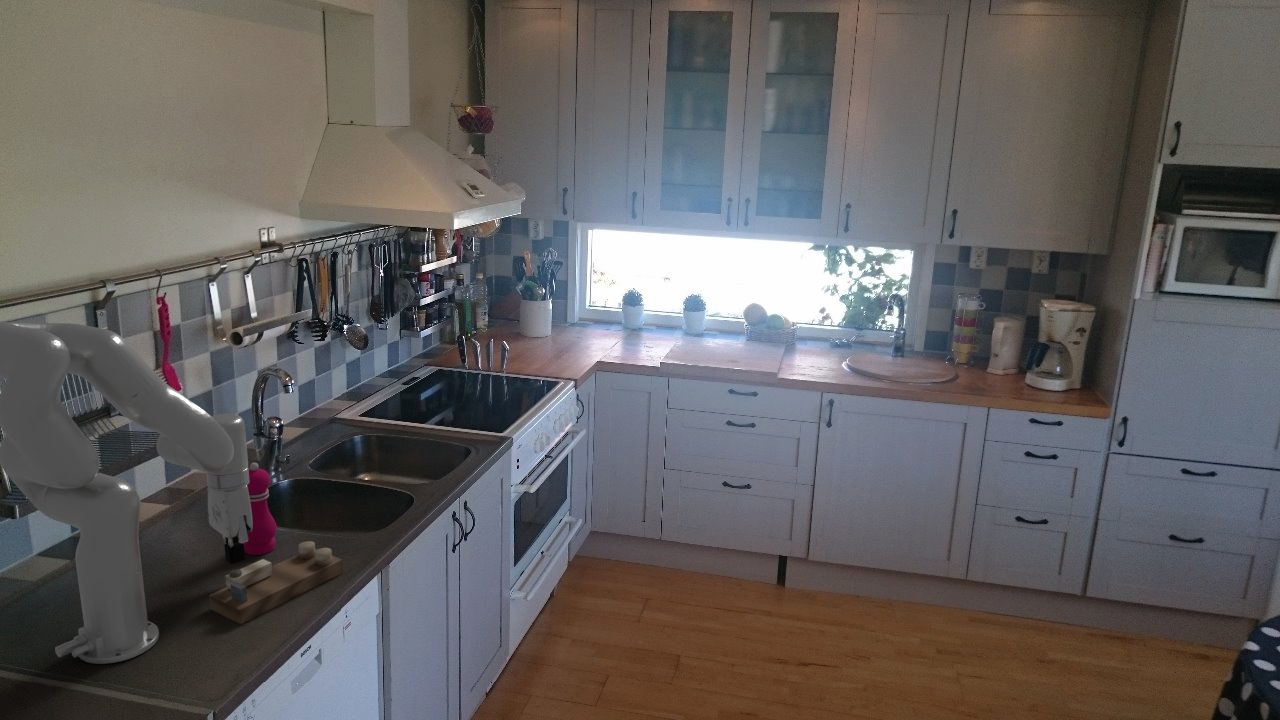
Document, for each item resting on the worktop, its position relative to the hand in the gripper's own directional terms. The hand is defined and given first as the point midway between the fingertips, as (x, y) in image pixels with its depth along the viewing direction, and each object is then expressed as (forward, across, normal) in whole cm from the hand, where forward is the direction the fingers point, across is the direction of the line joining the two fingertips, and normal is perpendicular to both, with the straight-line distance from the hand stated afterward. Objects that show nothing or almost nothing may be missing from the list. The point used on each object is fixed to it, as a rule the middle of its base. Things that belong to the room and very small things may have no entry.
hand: (235, 561), depth 180 cm
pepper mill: (+5, -10, +10) cm, 15 cm away
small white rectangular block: (+1, +8, -1) cm, 8 cm away
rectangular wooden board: (+4, +9, +4) cm, 11 cm away
